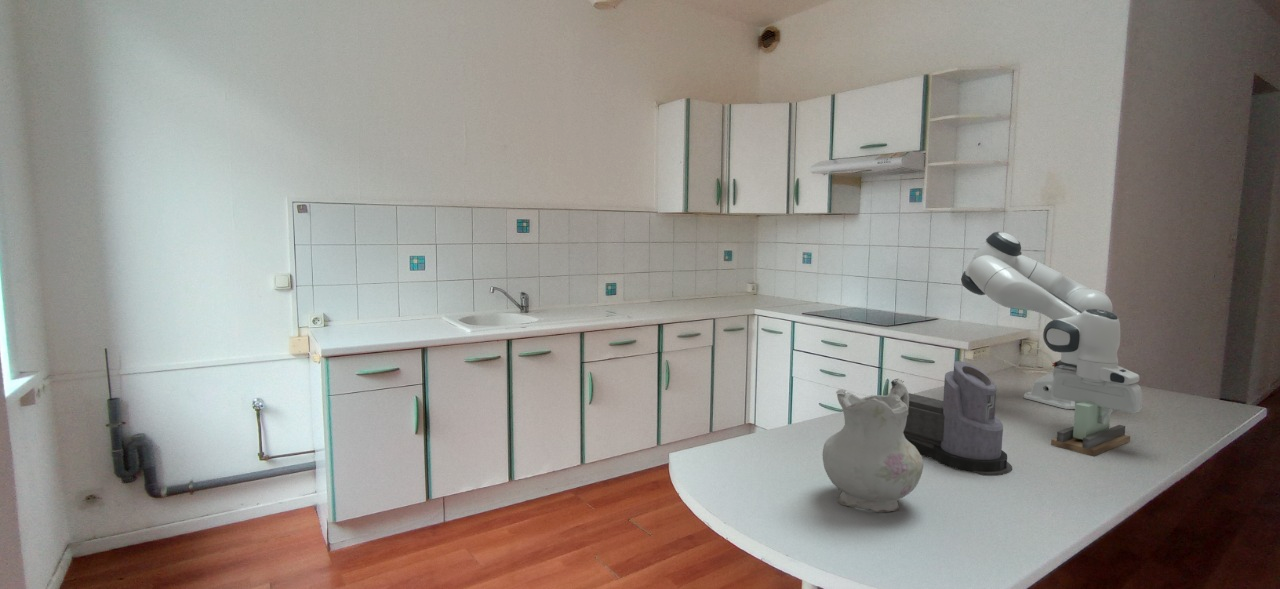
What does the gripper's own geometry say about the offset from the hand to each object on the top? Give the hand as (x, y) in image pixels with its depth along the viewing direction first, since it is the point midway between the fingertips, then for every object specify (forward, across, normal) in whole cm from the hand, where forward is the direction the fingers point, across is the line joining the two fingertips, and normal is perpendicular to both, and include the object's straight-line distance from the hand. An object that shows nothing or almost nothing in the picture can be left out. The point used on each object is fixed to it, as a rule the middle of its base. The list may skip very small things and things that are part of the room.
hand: (1092, 421), depth 169 cm
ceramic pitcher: (+6, -8, -82) cm, 83 cm away
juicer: (+6, -15, -42) cm, 46 cm away
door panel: (+4, 0, 0) cm, 4 cm away
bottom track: (+6, 0, 0) cm, 6 cm away
